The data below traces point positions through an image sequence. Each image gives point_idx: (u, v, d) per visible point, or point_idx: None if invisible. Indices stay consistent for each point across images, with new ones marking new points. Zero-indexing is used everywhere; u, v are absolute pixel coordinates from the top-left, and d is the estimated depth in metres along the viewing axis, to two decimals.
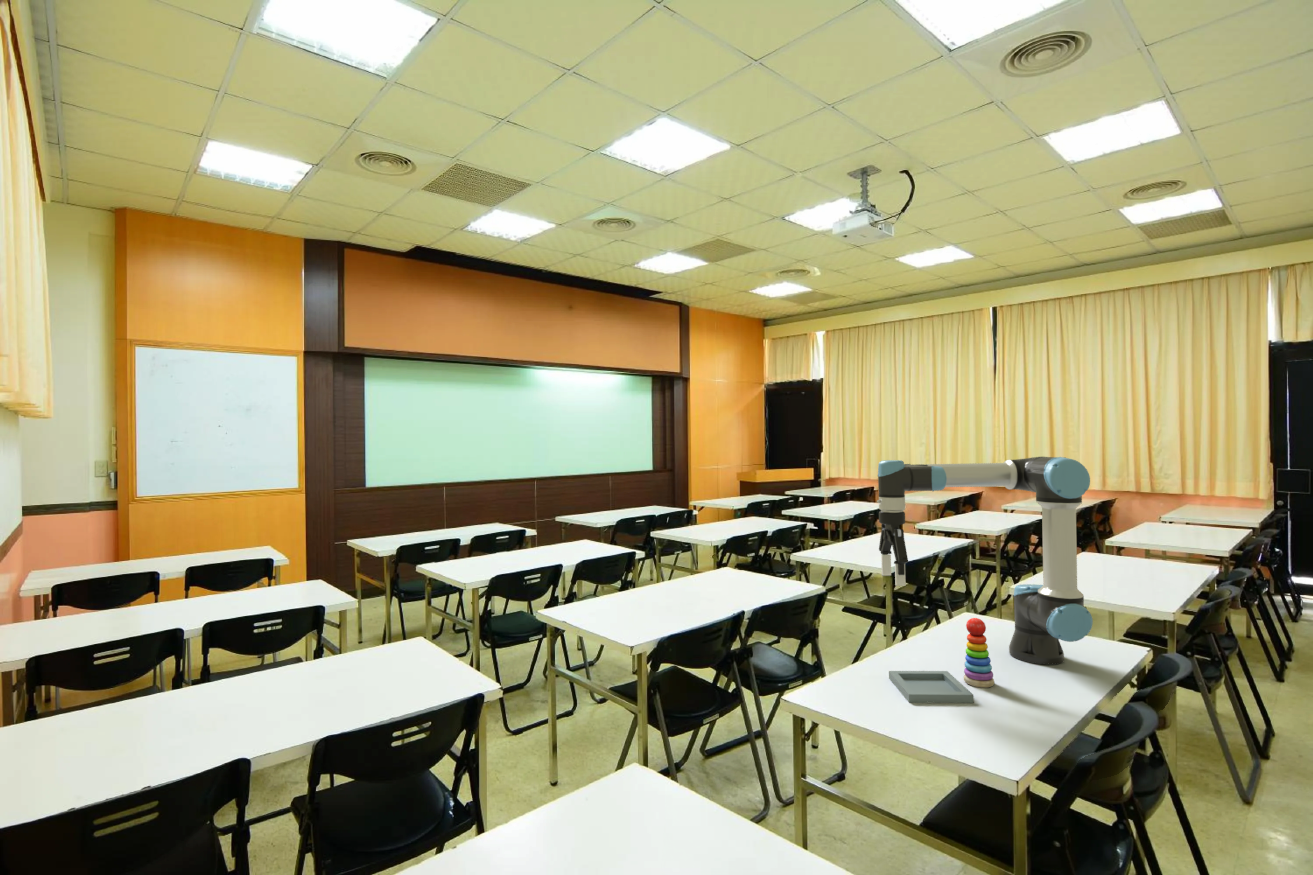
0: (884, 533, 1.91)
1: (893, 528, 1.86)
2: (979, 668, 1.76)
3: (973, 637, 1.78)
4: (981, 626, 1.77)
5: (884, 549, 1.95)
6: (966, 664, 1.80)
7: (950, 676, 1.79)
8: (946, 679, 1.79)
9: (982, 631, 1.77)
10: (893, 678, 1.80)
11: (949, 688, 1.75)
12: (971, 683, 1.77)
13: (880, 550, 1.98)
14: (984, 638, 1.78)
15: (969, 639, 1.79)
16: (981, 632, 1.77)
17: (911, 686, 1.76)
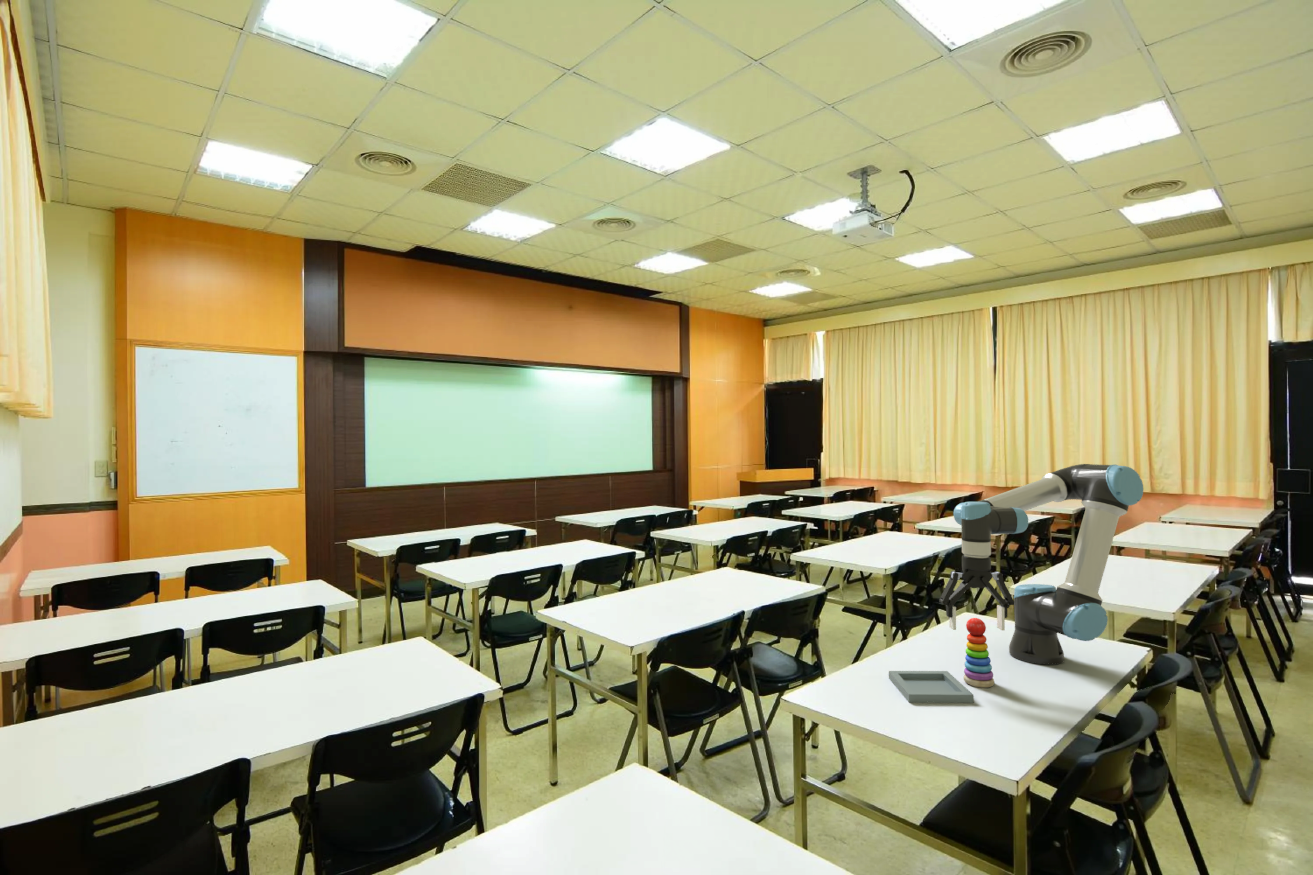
0: None
1: None
2: (979, 668, 1.76)
3: (973, 637, 1.78)
4: (981, 626, 1.77)
5: (996, 599, 1.80)
6: (966, 664, 1.80)
7: (950, 676, 1.79)
8: (946, 679, 1.79)
9: (982, 631, 1.77)
10: (893, 678, 1.80)
11: (949, 688, 1.75)
12: (971, 683, 1.77)
13: None
14: (984, 638, 1.78)
15: (969, 639, 1.79)
16: (981, 632, 1.77)
17: (911, 686, 1.76)
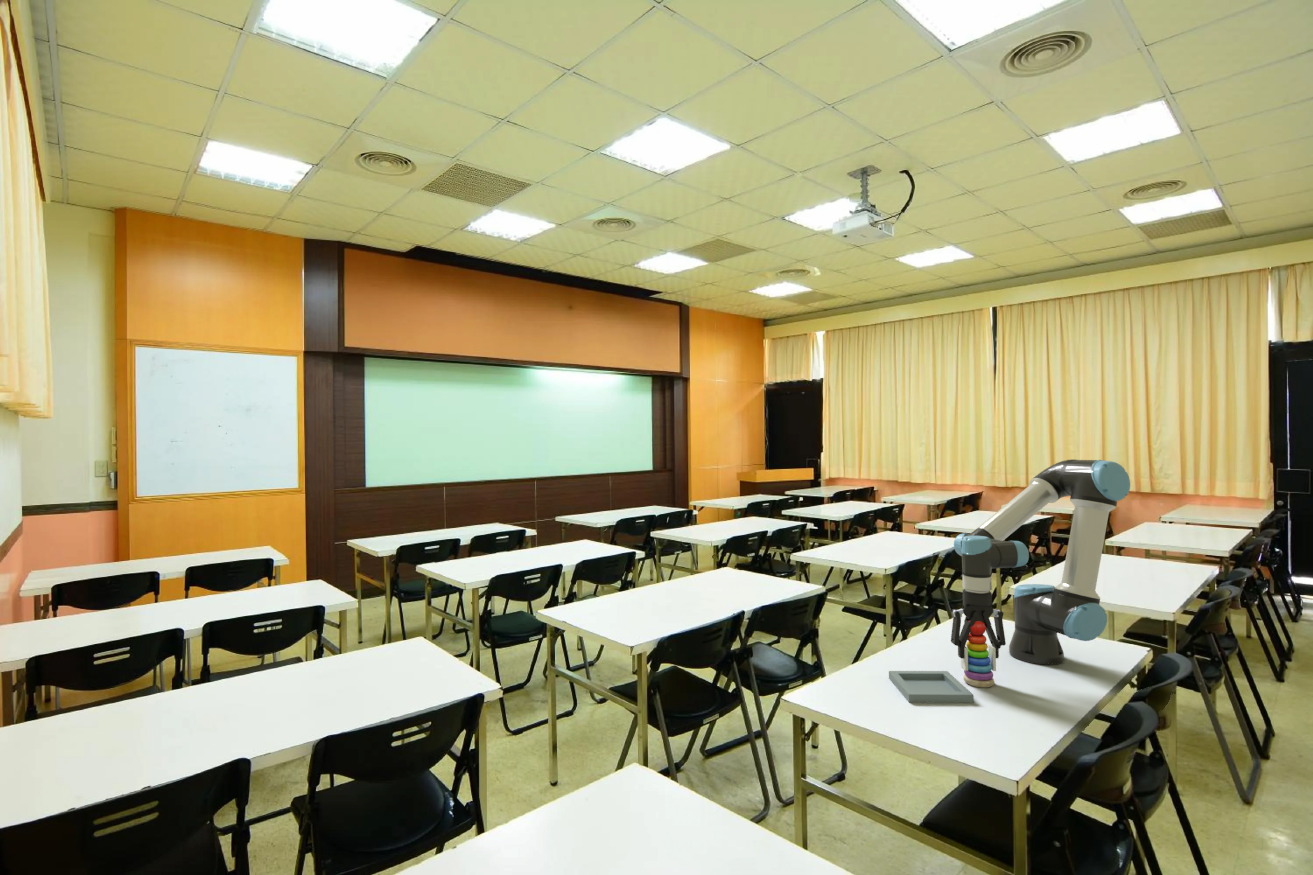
0: None
1: (962, 607, 1.80)
2: (979, 668, 1.76)
3: (973, 637, 1.78)
4: (981, 626, 1.77)
5: (989, 637, 1.80)
6: None
7: (950, 676, 1.79)
8: (946, 679, 1.79)
9: (982, 631, 1.77)
10: (893, 678, 1.80)
11: (949, 688, 1.75)
12: (971, 683, 1.77)
13: None
14: (984, 638, 1.78)
15: (969, 639, 1.79)
16: (981, 632, 1.77)
17: (911, 686, 1.76)
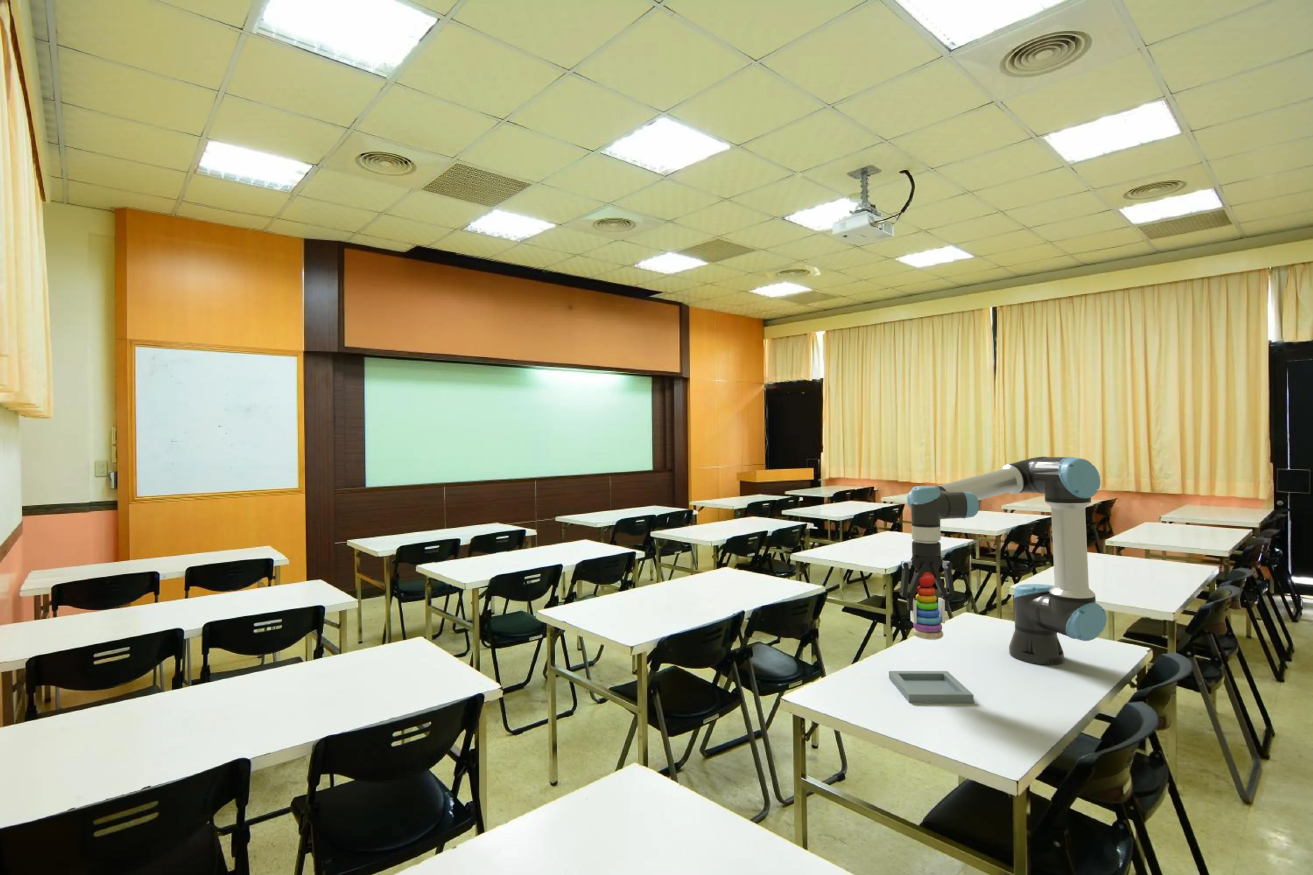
0: None
1: None
2: (927, 620, 1.72)
3: (922, 589, 1.74)
4: (929, 577, 1.73)
5: None
6: None
7: (950, 676, 1.79)
8: (946, 679, 1.79)
9: (931, 582, 1.73)
10: (893, 678, 1.80)
11: (949, 688, 1.75)
12: (919, 635, 1.73)
13: None
14: (933, 589, 1.74)
15: (918, 591, 1.75)
16: (930, 583, 1.73)
17: (911, 686, 1.76)
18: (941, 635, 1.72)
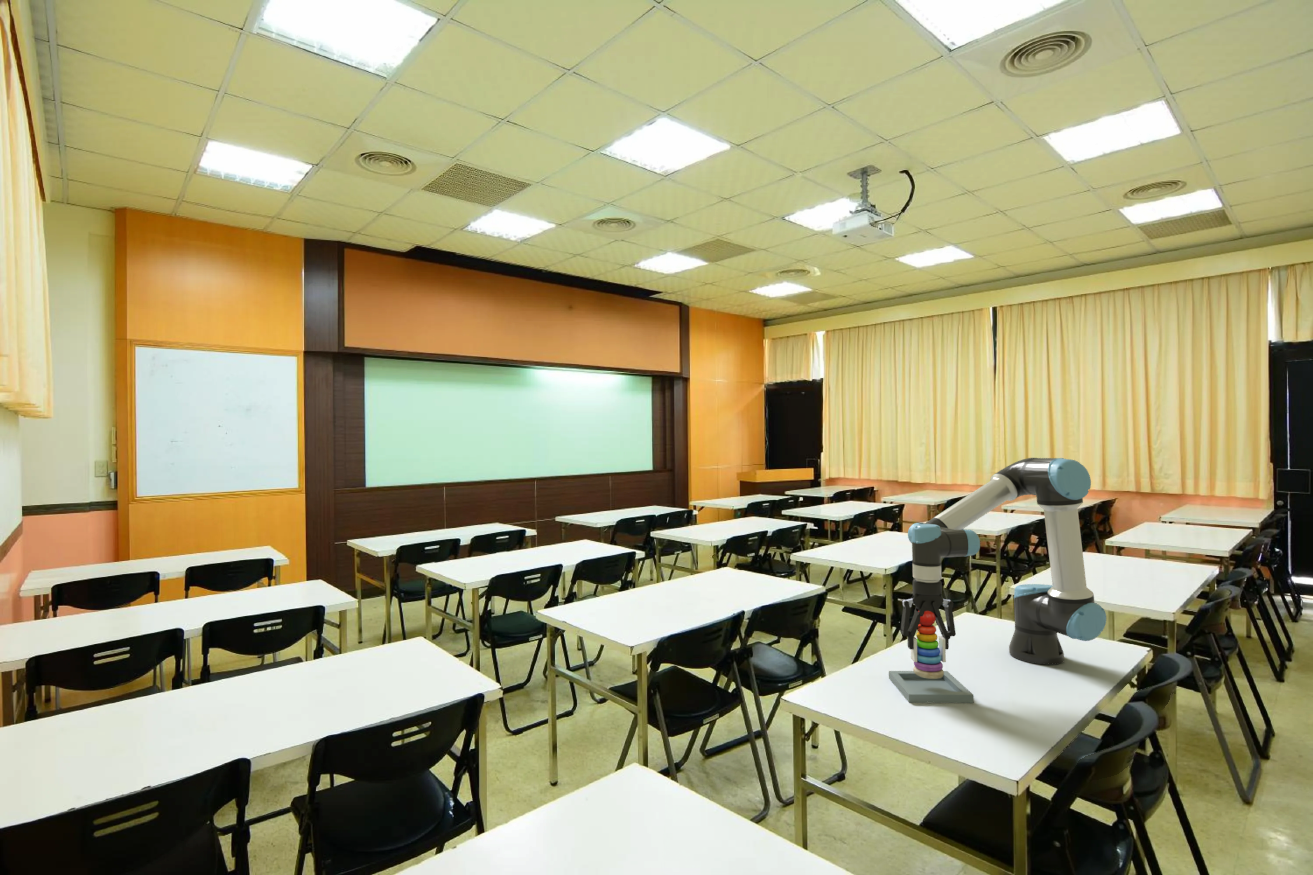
0: None
1: None
2: (928, 659, 1.72)
3: (922, 627, 1.74)
4: (930, 616, 1.73)
5: (939, 628, 1.76)
6: None
7: (950, 676, 1.79)
8: (946, 679, 1.79)
9: (931, 621, 1.73)
10: (893, 678, 1.80)
11: (949, 688, 1.75)
12: (920, 674, 1.73)
13: None
14: (933, 628, 1.74)
15: (918, 629, 1.75)
16: (930, 622, 1.73)
17: (911, 686, 1.76)
18: (942, 674, 1.72)
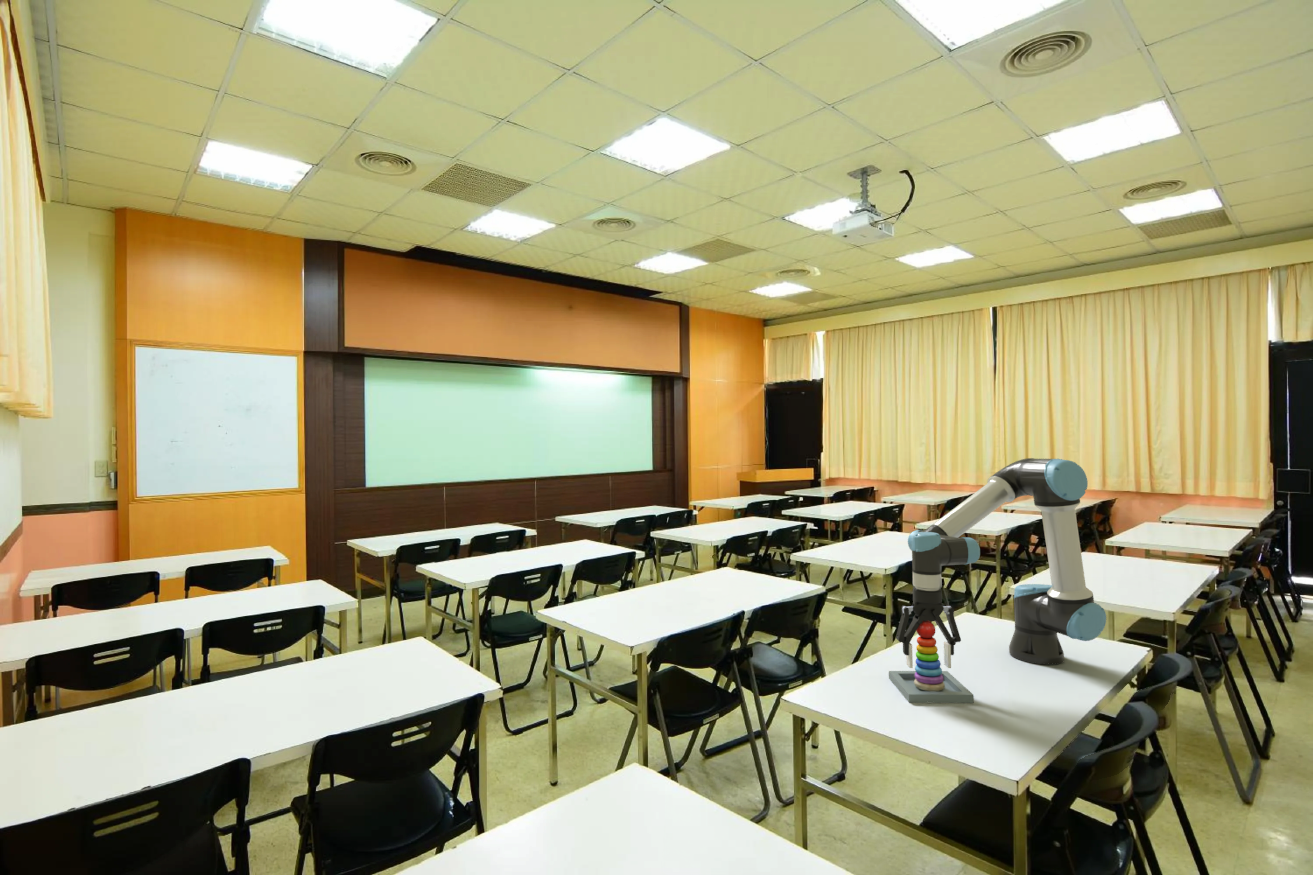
0: None
1: (912, 604, 1.76)
2: (928, 671, 1.72)
3: (922, 640, 1.74)
4: (930, 628, 1.74)
5: (943, 634, 1.76)
6: (916, 668, 1.76)
7: (950, 676, 1.79)
8: (946, 679, 1.79)
9: (931, 633, 1.74)
10: (893, 678, 1.80)
11: (949, 688, 1.75)
12: (921, 687, 1.73)
13: None
14: (933, 641, 1.74)
15: (919, 642, 1.75)
16: (930, 634, 1.74)
17: (911, 686, 1.76)
18: (942, 687, 1.72)
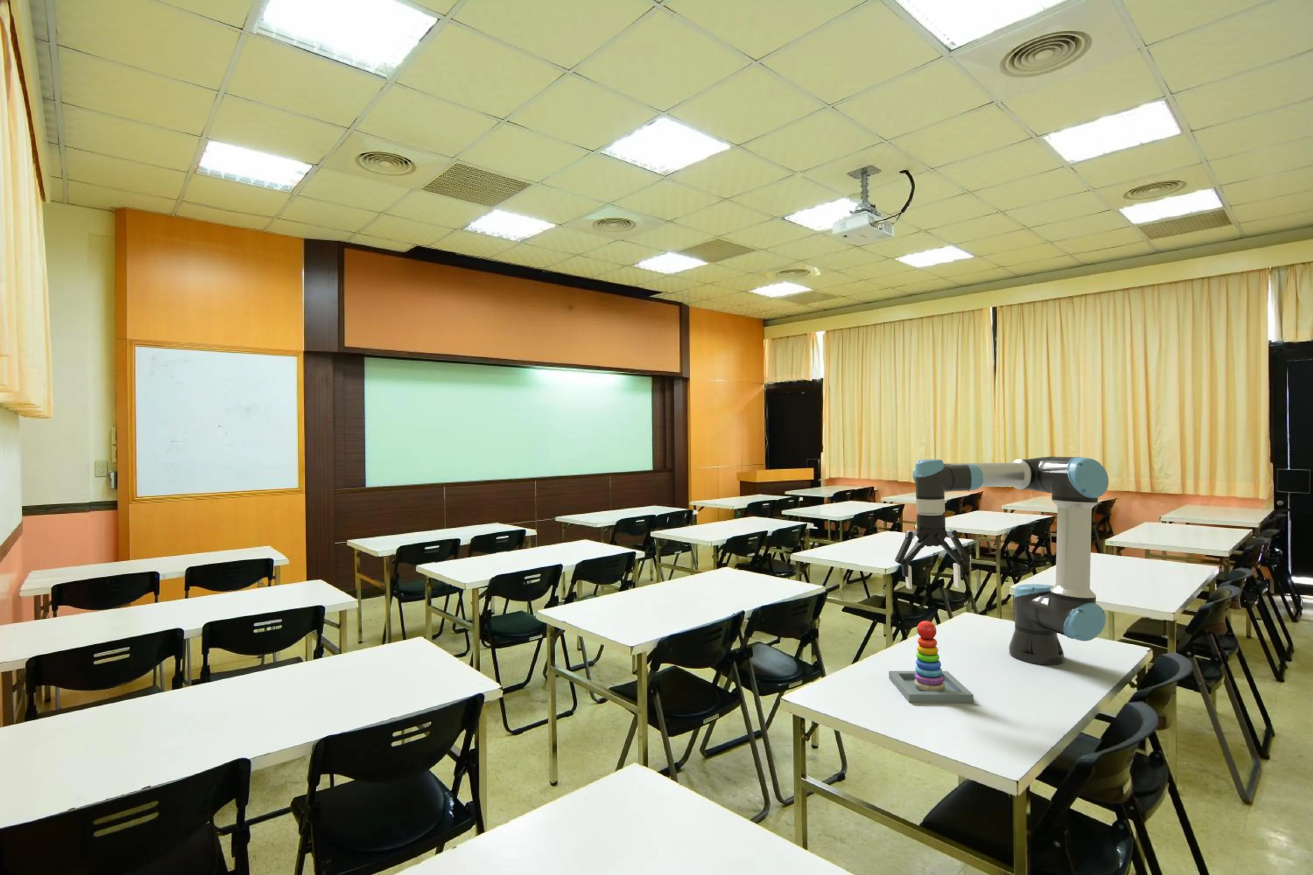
0: None
1: None
2: (929, 672, 1.72)
3: (923, 641, 1.74)
4: (931, 629, 1.73)
5: (952, 557, 1.78)
6: (916, 668, 1.75)
7: (950, 676, 1.79)
8: (946, 679, 1.79)
9: (932, 634, 1.73)
10: (893, 678, 1.80)
11: (949, 688, 1.75)
12: (921, 688, 1.73)
13: None
14: (934, 642, 1.73)
15: (919, 643, 1.75)
16: (931, 635, 1.73)
17: (911, 686, 1.76)
18: (942, 688, 1.72)
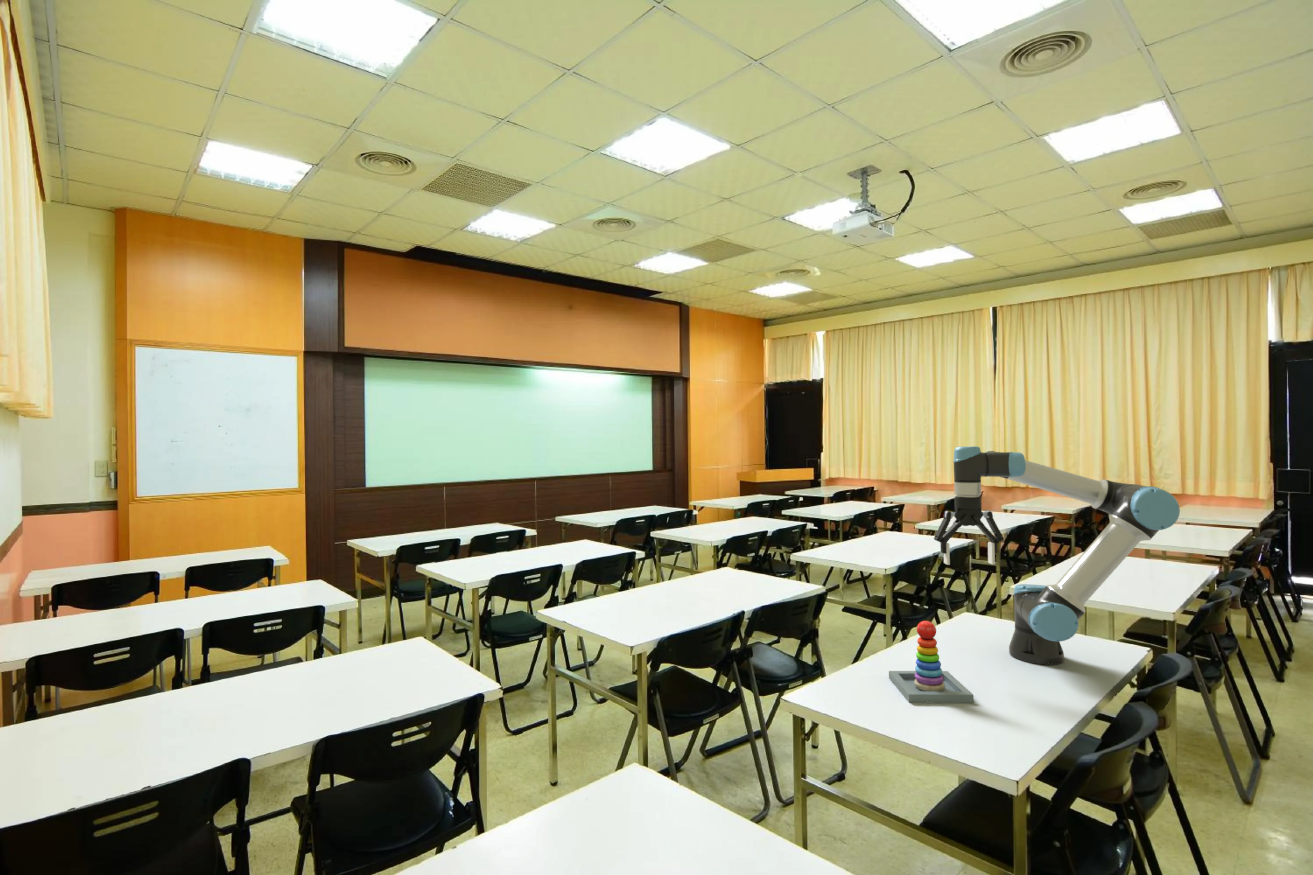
0: None
1: (954, 511, 1.94)
2: (929, 672, 1.72)
3: (923, 641, 1.74)
4: (931, 629, 1.73)
5: (987, 536, 1.94)
6: (916, 668, 1.75)
7: (950, 676, 1.79)
8: (946, 679, 1.79)
9: (932, 634, 1.73)
10: (893, 678, 1.80)
11: (949, 688, 1.75)
12: (921, 688, 1.73)
13: None
14: (934, 642, 1.74)
15: (919, 643, 1.75)
16: (931, 635, 1.73)
17: (911, 686, 1.76)
18: (942, 688, 1.72)
